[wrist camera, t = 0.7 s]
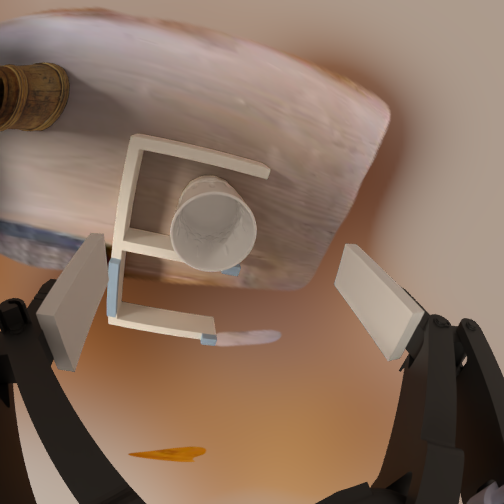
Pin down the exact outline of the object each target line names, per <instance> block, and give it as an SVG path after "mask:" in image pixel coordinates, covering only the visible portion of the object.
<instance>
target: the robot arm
mask: <svg viewBox="0 0 504 504" xmlns="http://www.w3.org/2000/svg"><path fill="white" fill-rule="evenodd" d="M108 281H109V276H108V268H107V260H106V251H105V240H104V234H98V233H91V234H90V235H89V236H88V237H87V239H86V240H85V241H84V243H83V244H82V245H81V247H80V248H79V249H78V251H77V252H76V253H75V255H74V256H73V258H72V259H71V260H70V262H69V263H68V265H67V266H66V267H65V269H64V270H63V272H62V273H61V275H60V276H59V278H58V279H57V280H56V279H50V280H49V281H47V282H46V283H45V284H43V285H42V287H41V288H40V290H39V291H38V294H36V296H35V297H34V300H32V302H31V303H30V305H29V306H28V308H26V305H25V303H24V301H23V300H21V299H18V298H12V299H8V300H6V301H4V302H2V303H1V304H0V329H1V331H0V504H37V503H36V501H35V497H34V494H33V491H32V488H31V485H30V481H29V478H28V474H27V470H26V466H25V462H24V458H23V453H22V448H21V444H20V438H19V433H18V426H17V419H16V412H15V403H14V392H13V383H17V385H18V388H19V390H20V393H21V396H22V398H23V401H24V403H25V406H26V408H27V411H28V413H29V415H30V418H31V420H32V422H33V424H34V427H35V429H36V431H37V433H38V435H39V437H40V439H41V441H42V443H43V445H44V447H45V449H46V451H47V452H48V455H49V456H50V458H51V460H52V462H53V463H54V465H55V467H56V469H57V470H58V472H59V474H60V475H61V477H62V479H63V480H64V482H65V483H66V485H67V486H68V488H69V489H70V491H71V492H72V494H73V495H74V497H75V498H76V500H77V501H78V502H79V504H146V503H145V502H144V501H143V500H142V499H141V498H140V497H139V496H138V495H137V493H136V492H135V491H134V490H133V489H132V488H131V487H130V486H129V485H128V483H127V482H126V481H125V480H124V479H123V478H122V476H121V475H120V474H119V473H118V472H117V470H116V469H115V468H114V467H113V466H112V464H111V463H110V462H109V460H108V459H107V458H106V456H105V455H104V454H103V452H102V451H101V450H100V448H99V447H98V445H97V444H96V443H95V441H94V440H93V438H92V437H91V435H90V434H89V433H88V431H87V429H86V428H85V426H84V425H83V423H82V422H81V420H80V419H79V417H78V415H77V414H76V412H75V411H74V409H73V407H72V405H71V404H70V402H69V400H68V398H67V397H66V395H65V393H64V391H63V390H62V388H61V386H60V384H59V382H58V380H57V378H56V376H55V374H54V372H53V370H52V368H51V364H52V362H53V359H54V361H55V363H56V366H57V368H58V369H60V370H66V371H72V372H75V369H76V366H77V363H78V360H79V357H80V354H81V351H82V348H83V345H84V342H85V339H86V337H87V334H88V331H89V329H90V326H91V323H92V321H93V318H94V315H95V313H96V310H97V308H98V305H99V303H100V300H101V298H102V296H103V293H104V291H105V288H106V286H107V284H108ZM334 285H335V287H336V288H337V290H338V291H339V292H340V294H341V295H342V296H343V298H344V299H345V301H346V302H347V303H348V305H349V306H350V307H351V309H352V310H353V312H354V313H355V314H356V316H357V317H358V319H359V320H360V322H361V323H362V324H363V326H364V327H365V329H366V330H367V331H368V333H369V334H370V336H371V337H372V338H373V340H374V341H375V343H376V344H377V346H378V347H379V349H380V350H381V352H382V353H383V354H384V356H385V358H386V359H387V361H391V360H395V359H399V358H400V357H401V356H402V354H403V352H404V350H405V349H406V350H407V351H408V352H409V355H408V356H407V358H406V360H405V361H404V363H403V365H402V366H401V368H400V370H399V371H402V369H403V368H404V375H403V381H402V386H401V392H400V397H399V403H398V407H397V412H396V416H395V420H394V425H393V429H392V433H391V437H390V440H389V444H388V448H387V451H386V455H385V458H384V462H383V465H382V468H381V471H380V473H379V476H378V478H377V479H376V480H375V482H374V483H373V485H372V486H371V488H370V487H369V485H368V483H367V482H365V483H362V484H360V485H357V486H354V487H351V488H348V489H344V490H341V491H338V492H336V493H334V494H333V495H331V496H329V497H327V498H325V499H323V500H321V501H319V502H318V503H316V504H458V503H459V497H460V493H461V498H462V502H463V504H504V377H503V375H502V373H501V370H500V368H499V366H498V364H497V361H496V359H495V357H494V355H493V352H492V350H491V348H490V346H489V344H488V342H487V340H486V338H485V336H484V334H483V332H482V330H481V328H480V327H479V325H478V324H477V323H476V322H475V321H473V320H471V319H467V318H464V319H462V320H461V322H460V324H459V326H451V324H450V322H449V321H448V320H447V319H445V318H444V317H442V316H440V315H436V314H434V315H429V314H428V313H427V312H426V311H425V309H424V308H423V307H422V306H421V305H420V304H419V303H418V302H417V301H415V299H414V298H413V297H411V295H410V294H409V293H408V292H407V291H406V290H405V289H404V288H402V287H400V286H399V285H398V284H397V283H396V282H395V281H394V280H393V279H392V278H391V277H390V276H389V275H388V274H387V273H386V272H385V271H384V270H383V269H382V268H381V267H380V266H379V265H378V264H377V263H376V262H374V260H372V258H371V257H369V256H368V255H367V254H366V253H365V252H364V251H363V250H362V249H361V248H360V247H359V246H358V245H357V244H345V247H344V251H343V254H342V258H341V262H340V265H339V269H338V272H337V276H336V279H335V282H334ZM466 356H467V362H466V364H465V365H464V366H463V365H462V362H463V360H464V359H465V357H466Z"/></svg>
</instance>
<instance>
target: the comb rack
mask: <svg viewBox="0 0 504 504" xmlns="http://www.w3.org/2000/svg"><path fill="white" fill-rule="evenodd" d="M144 150H146V151H151V152H156V153H161V154H166V155H171V156H175V157H180V158H184V159H189V160H193V161H197V162H202V163H206V164H210V165H214V166H218V167H222V168H226V169H230V170H234V171H238V172H241V173H245V174H249V175H253V176H256V177H260V178H263V179H267V180H268V177H269V174H270V171H271V169H270V168H269V167H267V166H266V165H265V164H263V163H261V162H257V161H254V160H250V159H247V158H243V157H240V156H236V155H232V154H228V153H225V152H221V151H217V150H213V149H209V148H205V147H201V146H196V145H192V144H188V143H183V142H179V141H174V140H170V139H165V138H160V137H155V136H150V135H145V134H139V133H137V134H135V135H132V136H131V137H130V141H129V146H128V150H127V155H126V160H125V165H124V170H123V175H122V181H121V186H120V192H119V199H118V205H117V212H116V220H115V228H114V236H113V246H112V256H111V259H110V262H109V270H108V276H109V281H108V289H107V316H108V323H109V324H113V325H117V326H122V327H128V328H133V329H138V330H144V331H149V332H155V333H162V334H168V335H174V336H181V337H187V338H195V339H201V344H203V345H212V346H215V344H216V341H217V337H216V331H215V323H214V317H209V316H202V315H196V314H190V313H183V312H177V311H171V310H165V309H160V308H154V307H148V306H143V305H137V304H132V303H127V302H122V289H123V278H124V268H125V258H126V251H128V252H133V253H138V254H143V255H149V256H154V257H159V258H164V259H169V260H174V261H179V262H183V261H182V260H181V259H180V258H179V257H178V255H177V254H176V252H175V251H174V249H173V246H172V243H171V239H170V236H169V235H164V234H159V233H154V232H149V231H144V230H139V229H134V228H130V221H131V214H132V208H133V202H134V197H135V191H136V186H137V181H138V176H139V171H140V166H141V162H142V157H143V153H144ZM240 269H241V267H240V264H237V265H236V266H234V267H232V268H230V269H227V270H223V271H221V273H222V274H227V275H233V276H238V275H239V272H240Z"/></svg>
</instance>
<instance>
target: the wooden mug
mask: <svg viewBox="0 0 504 504" xmlns="http://www.w3.org/2000/svg"><path fill="white" fill-rule="evenodd" d="M68 96H69V80H68V76H67V74H66V72H65V70H64V69H63V68H61V67H60V66H58V65H56V64H53V63H36V64H33V65H23V66H15V65H11V64H8V65H3V66H0V131H3V130H6V129H20V130H22V131H34V130H39V131H42V130H44V129H46V128H48V127H50V126H51V125H52V124H53V123H54V122H55V121H56V120H57V119H58V117H59V116H60V115H61V113H62V111H63V109H64V107H65V106H66V103H67V99H68Z"/></svg>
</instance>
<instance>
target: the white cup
mask: <svg viewBox="0 0 504 504" xmlns="http://www.w3.org/2000/svg"><path fill="white" fill-rule="evenodd" d="M256 235H257V226H256V221H255V218H254V215H253V213H252V211H251V210H250V208H249V207H248V206H247V204H246V203H245V202H244V200H243V199H242V198H241V196H240V195H239V194H238V193H237V191H236V190H235V189H234V188H233V187H232V186H231V185H229V183H228V182H227V181H226V180H224V179H222V178H219V177H217V176H215V175H207V176H200V177H198V178H196V179H194V180H192V181H190V183H189V184H188V185H187V186H186V188H185V189H184V190H183V192H182V195H181V197H180V199H179V201H178V204H177V206H176V210H175V213H174V216H173V219H172V223H171V227H170V239H171V243H172V246H173V249H174V251H175V252H176V254H177V255H178V257H179V258H180V259H181V260H182V261H183V262H184V263H186V264H187V265H189V266H190V267H192V268H195V269H197V270H200V271H206V272H218V271H223V270H227V269H230V268H232V267H234V266H236V265H237V264H239V263H240V262H241V261H243V260H244V259H245V258H246V257H247V255H248V254H249V253H250V251H251V250H252V248H253V246H254V243H255V240H256Z"/></svg>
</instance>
